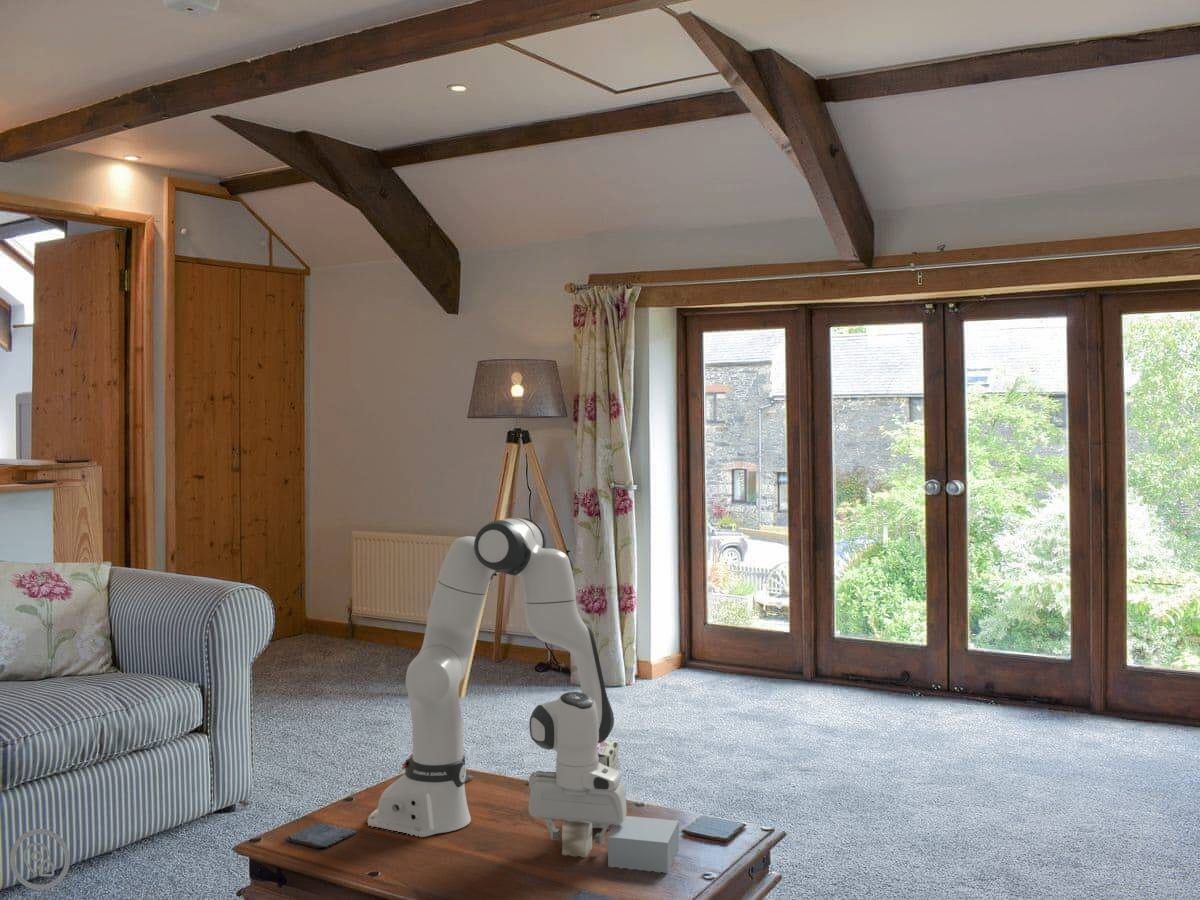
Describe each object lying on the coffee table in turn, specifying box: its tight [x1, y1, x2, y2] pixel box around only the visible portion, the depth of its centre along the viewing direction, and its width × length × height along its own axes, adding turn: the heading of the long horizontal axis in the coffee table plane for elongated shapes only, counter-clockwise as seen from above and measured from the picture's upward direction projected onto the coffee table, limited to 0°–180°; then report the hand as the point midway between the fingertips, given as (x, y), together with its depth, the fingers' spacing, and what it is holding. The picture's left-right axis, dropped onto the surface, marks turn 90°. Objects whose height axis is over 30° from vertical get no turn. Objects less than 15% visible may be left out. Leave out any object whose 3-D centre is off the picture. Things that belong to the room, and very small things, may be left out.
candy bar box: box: [592, 739, 619, 831], centre depth 240 cm, size 11×5×16 cm, turn 168°
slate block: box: [607, 815, 680, 874], centre depth 219 cm, size 12×12×6 cm
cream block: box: [561, 820, 593, 858], centre depth 223 cm, size 5×5×6 cm
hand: (577, 840), depth 223 cm, fingers open, 8 cm apart
